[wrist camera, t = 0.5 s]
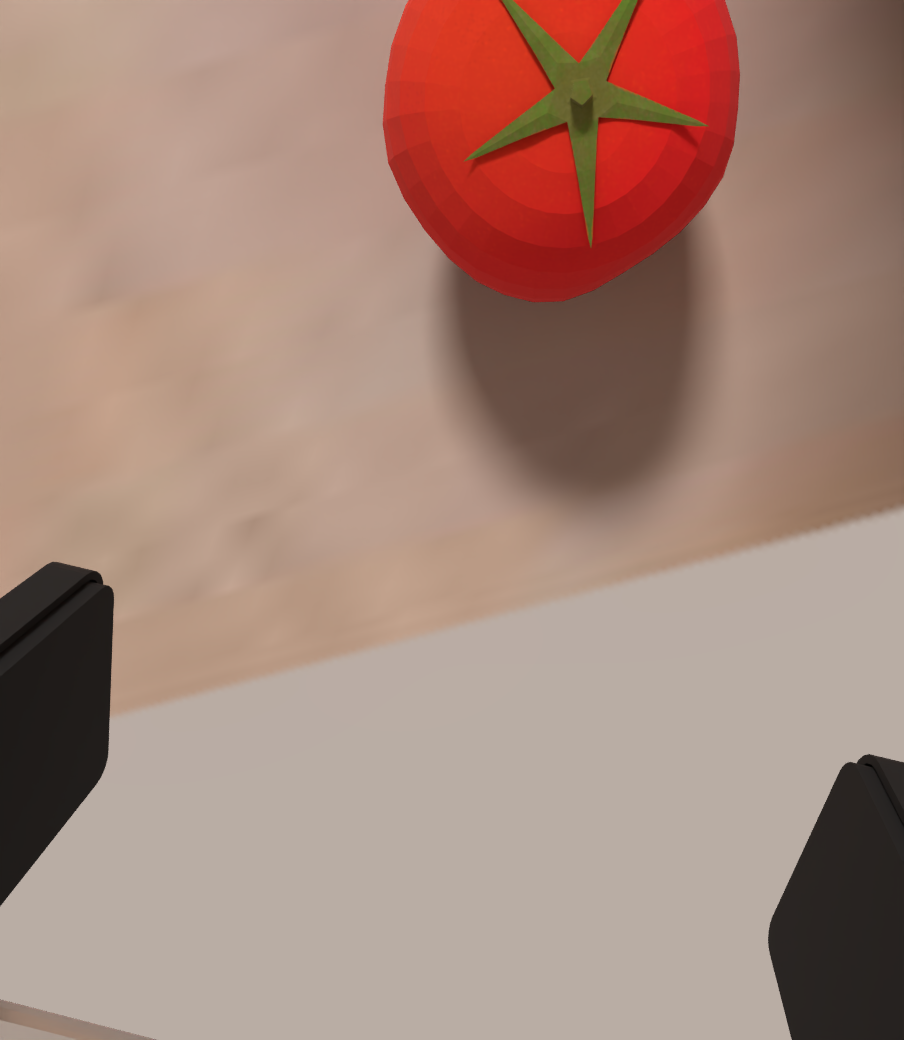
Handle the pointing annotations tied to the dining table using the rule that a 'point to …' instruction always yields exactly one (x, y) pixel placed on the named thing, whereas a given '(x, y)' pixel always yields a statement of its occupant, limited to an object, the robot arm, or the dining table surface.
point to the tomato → (559, 132)
